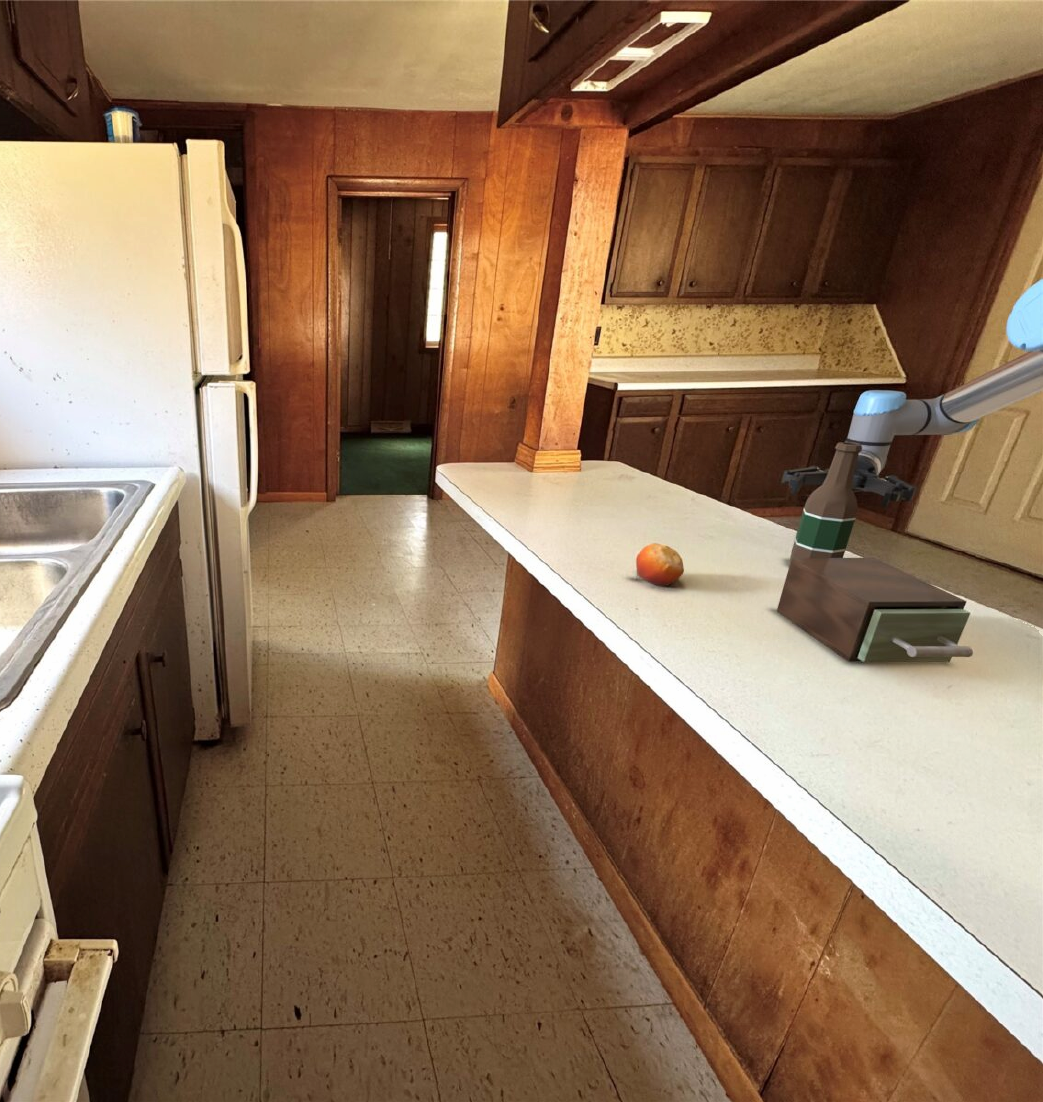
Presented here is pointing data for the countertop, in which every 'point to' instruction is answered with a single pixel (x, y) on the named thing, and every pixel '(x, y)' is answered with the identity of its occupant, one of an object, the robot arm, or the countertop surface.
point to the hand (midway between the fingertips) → (838, 493)
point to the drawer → (914, 635)
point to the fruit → (659, 564)
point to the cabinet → (850, 598)
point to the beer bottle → (830, 509)
